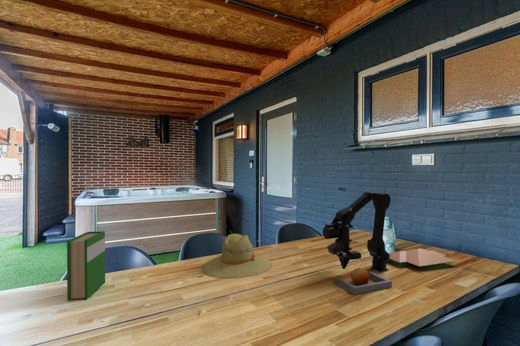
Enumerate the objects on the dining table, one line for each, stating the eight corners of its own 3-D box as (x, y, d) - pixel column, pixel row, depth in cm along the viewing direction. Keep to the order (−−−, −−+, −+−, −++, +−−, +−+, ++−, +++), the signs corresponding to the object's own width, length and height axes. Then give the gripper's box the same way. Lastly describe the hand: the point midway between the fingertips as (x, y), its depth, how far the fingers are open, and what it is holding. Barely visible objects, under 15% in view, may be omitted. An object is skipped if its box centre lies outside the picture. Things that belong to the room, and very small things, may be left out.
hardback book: (87, 300, 113) (87, 240, 113) (67, 301, 112) (66, 240, 112) (105, 283, 131) (104, 231, 131) (87, 284, 130) (87, 231, 130)
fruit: (375, 284, 123) (365, 268, 124) (359, 292, 125) (349, 276, 126) (372, 278, 131) (363, 262, 132) (357, 285, 133) (347, 270, 134)
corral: (369, 276, 137) (369, 271, 137) (391, 286, 124) (391, 281, 124) (334, 282, 130) (334, 277, 130) (354, 294, 117) (354, 288, 117)
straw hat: (282, 260, 165) (282, 230, 165) (253, 285, 128) (253, 247, 128) (226, 253, 180) (226, 226, 180) (186, 273, 143) (186, 240, 143)
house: (460, 266, 152) (460, 251, 152) (412, 273, 142) (412, 257, 142) (423, 254, 174) (423, 241, 174) (379, 260, 163) (379, 246, 163)
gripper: (318, 234, 145) (319, 265, 145) (342, 243, 128) (342, 277, 128) (336, 232, 149) (337, 262, 149) (362, 240, 132) (362, 274, 132)
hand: (343, 268), depth 139 cm, fingers closed
